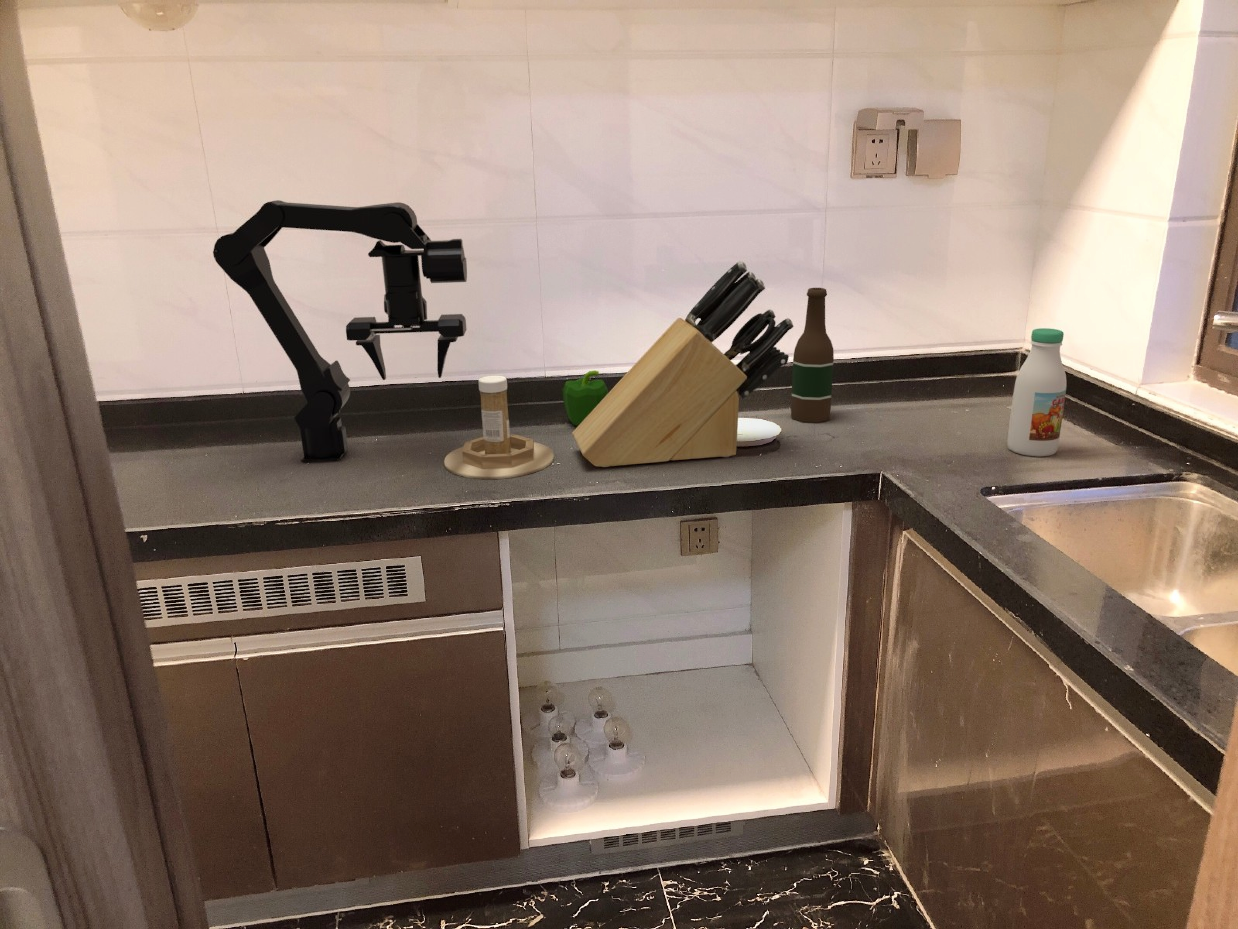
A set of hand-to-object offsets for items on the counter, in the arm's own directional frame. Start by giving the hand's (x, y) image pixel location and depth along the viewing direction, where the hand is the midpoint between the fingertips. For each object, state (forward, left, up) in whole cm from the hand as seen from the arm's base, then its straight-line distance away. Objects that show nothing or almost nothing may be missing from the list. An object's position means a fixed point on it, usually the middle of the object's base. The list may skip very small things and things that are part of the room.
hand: (412, 378), depth 153 cm
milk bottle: (+102, -12, -13) cm, 104 cm away
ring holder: (+14, -6, -13) cm, 20 cm away
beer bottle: (+71, +11, -13) cm, 73 cm away
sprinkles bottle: (+14, -6, -13) cm, 20 cm away
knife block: (+44, -6, -13) cm, 47 cm away
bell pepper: (+29, +13, -13) cm, 34 cm away
